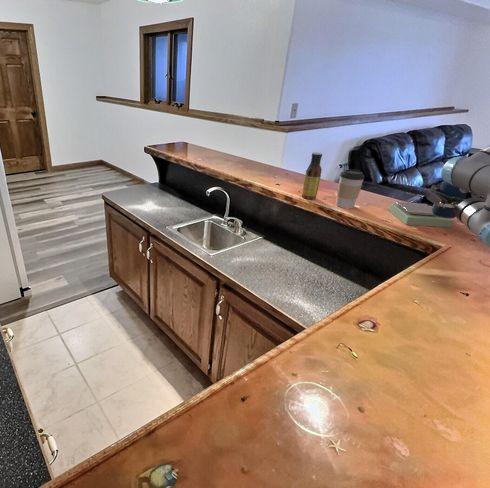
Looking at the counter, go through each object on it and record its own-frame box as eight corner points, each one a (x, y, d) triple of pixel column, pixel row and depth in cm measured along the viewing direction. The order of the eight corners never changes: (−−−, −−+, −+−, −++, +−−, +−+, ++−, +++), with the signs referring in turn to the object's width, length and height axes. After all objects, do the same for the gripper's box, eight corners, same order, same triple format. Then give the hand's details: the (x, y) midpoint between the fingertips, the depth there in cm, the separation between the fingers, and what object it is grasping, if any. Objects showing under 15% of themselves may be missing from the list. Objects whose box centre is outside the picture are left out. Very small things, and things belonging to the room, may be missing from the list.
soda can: (462, 220, 108) (477, 182, 103) (437, 218, 109) (451, 181, 104) (449, 212, 114) (463, 176, 109) (426, 210, 115) (439, 175, 110)
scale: (428, 212, 141) (430, 205, 140) (449, 227, 128) (452, 219, 127) (388, 210, 143) (391, 203, 142) (405, 224, 130) (408, 216, 128)
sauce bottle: (306, 194, 160) (314, 150, 151) (318, 198, 156) (328, 153, 147) (298, 197, 156) (306, 152, 148) (311, 201, 152) (320, 155, 143)
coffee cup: (350, 211, 142) (359, 174, 135) (328, 205, 148) (337, 170, 141) (360, 206, 147) (370, 171, 140) (339, 200, 153) (347, 166, 146)
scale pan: (425, 205, 138) (426, 203, 138) (440, 215, 129) (441, 213, 128) (395, 203, 140) (396, 202, 139) (408, 213, 130) (409, 211, 130)
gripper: (429, 222, 98) (407, 197, 117) (516, 232, 92) (477, 204, 112) (439, 197, 94) (414, 175, 114) (530, 205, 89) (487, 181, 108)
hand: (445, 189), depth 113 cm, fingers closed on soda can, 7 cm apart
